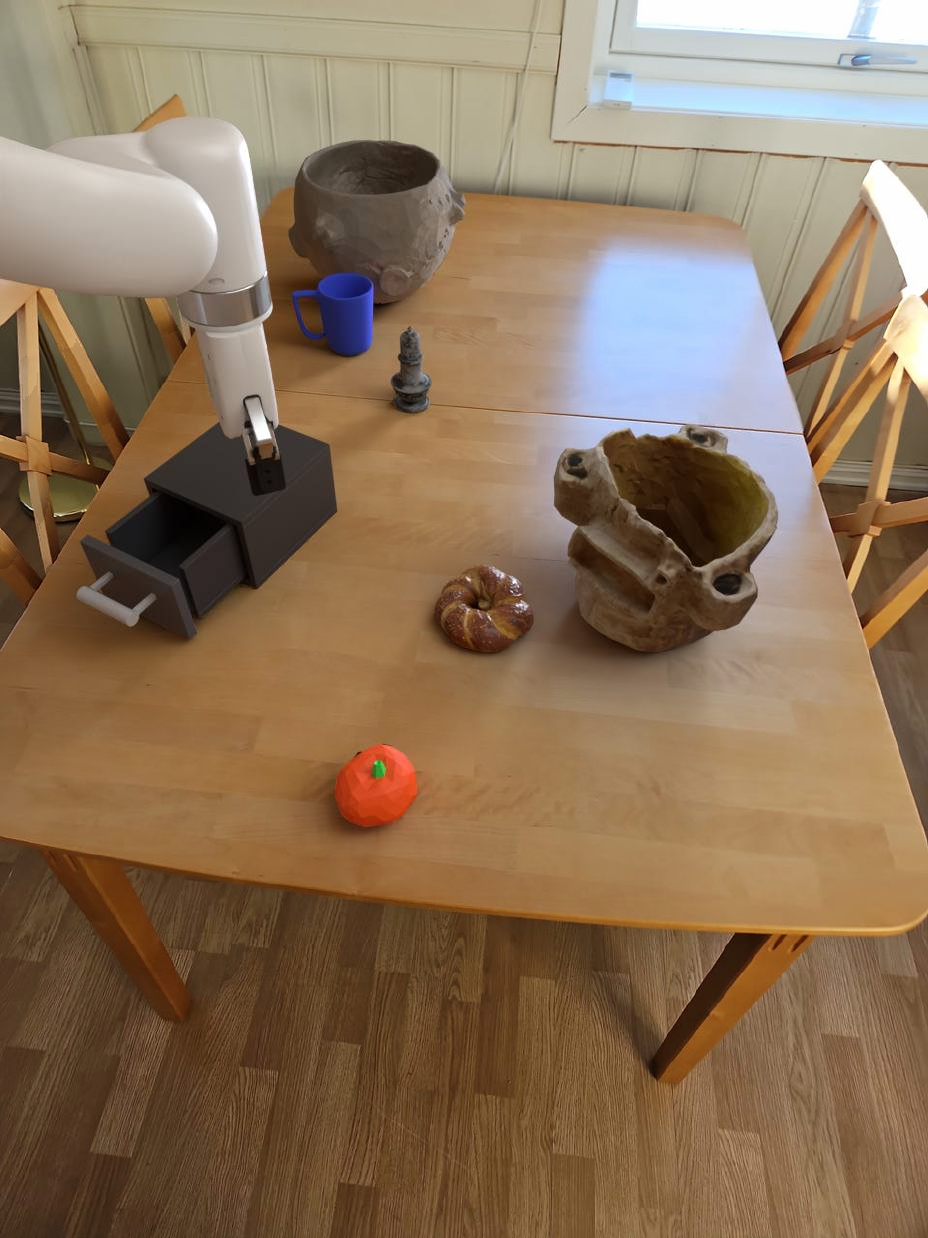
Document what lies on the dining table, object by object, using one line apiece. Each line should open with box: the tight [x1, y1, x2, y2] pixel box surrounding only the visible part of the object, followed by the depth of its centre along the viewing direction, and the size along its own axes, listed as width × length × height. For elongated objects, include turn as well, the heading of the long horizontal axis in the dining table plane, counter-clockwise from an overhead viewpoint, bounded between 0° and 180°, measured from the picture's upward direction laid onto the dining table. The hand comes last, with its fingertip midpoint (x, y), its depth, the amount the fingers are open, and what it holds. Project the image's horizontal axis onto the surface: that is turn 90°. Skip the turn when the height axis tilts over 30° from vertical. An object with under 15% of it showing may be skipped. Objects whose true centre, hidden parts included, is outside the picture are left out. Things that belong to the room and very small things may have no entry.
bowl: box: [287, 139, 467, 305], centre depth 134 cm, size 27×29×20 cm
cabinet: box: [143, 421, 338, 590], centre depth 97 cm, size 16×14×10 cm
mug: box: [291, 273, 374, 356], centre depth 125 cm, size 8×12×10 cm
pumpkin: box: [333, 743, 418, 828], centre depth 74 cm, size 7×8×6 cm
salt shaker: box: [390, 325, 433, 414], centre depth 115 cm, size 6×6×12 cm
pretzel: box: [434, 564, 535, 653], centre depth 91 cm, size 12×11×4 cm
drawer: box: [76, 490, 248, 641], centre depth 89 cm, size 19×13×8 cm, turn 150°
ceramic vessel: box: [553, 423, 779, 654], centre depth 85 cm, size 23×24×25 cm
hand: (257, 460), depth 80 cm, fingers open, 9 cm apart
